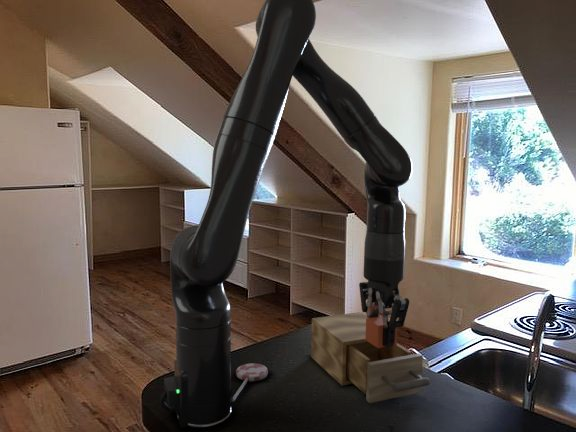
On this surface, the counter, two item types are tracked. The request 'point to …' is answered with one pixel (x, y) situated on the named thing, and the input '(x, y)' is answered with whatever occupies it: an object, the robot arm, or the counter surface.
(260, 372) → the lollipop
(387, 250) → the robot arm
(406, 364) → the drawer
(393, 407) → the counter surface
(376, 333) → the block
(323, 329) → the cabinet
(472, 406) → the counter surface
